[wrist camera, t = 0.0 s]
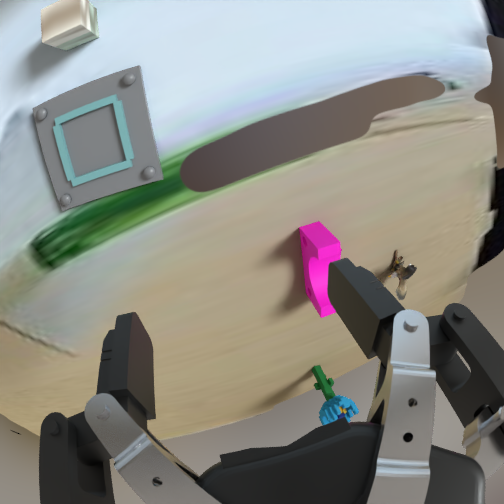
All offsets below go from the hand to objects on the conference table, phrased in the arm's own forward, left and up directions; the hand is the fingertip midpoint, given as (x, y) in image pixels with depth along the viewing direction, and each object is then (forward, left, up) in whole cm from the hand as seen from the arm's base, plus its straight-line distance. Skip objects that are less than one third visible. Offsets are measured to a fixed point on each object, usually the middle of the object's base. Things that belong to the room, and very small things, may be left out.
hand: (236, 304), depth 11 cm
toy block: (+22, +18, -31) cm, 42 cm away
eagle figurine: (+30, +38, -30) cm, 57 cm away
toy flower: (+59, +19, -30) cm, 69 cm away
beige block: (-23, -12, -30) cm, 40 cm away
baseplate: (-6, -13, -30) cm, 33 cm away
